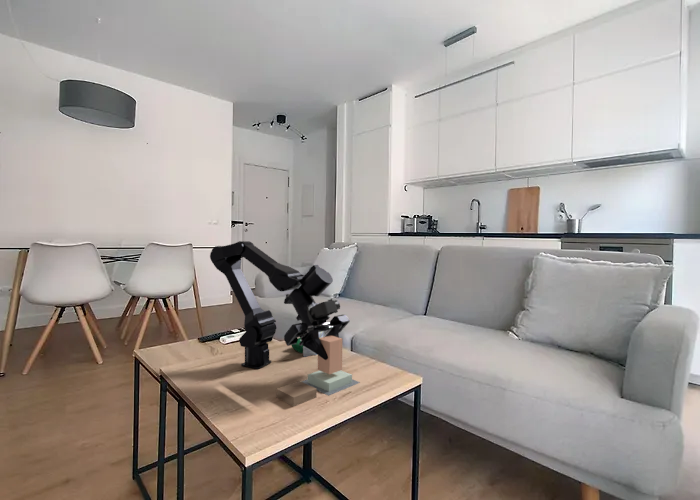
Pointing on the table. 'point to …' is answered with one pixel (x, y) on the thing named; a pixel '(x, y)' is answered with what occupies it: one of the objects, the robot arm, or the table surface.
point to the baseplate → (332, 390)
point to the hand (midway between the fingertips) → (333, 356)
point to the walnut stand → (296, 393)
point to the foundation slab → (329, 379)
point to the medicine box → (307, 351)
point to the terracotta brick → (331, 355)
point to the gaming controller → (298, 346)
